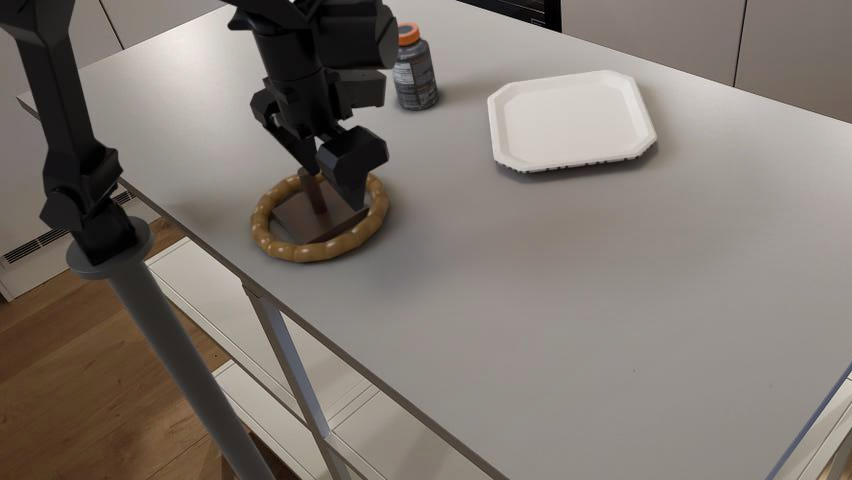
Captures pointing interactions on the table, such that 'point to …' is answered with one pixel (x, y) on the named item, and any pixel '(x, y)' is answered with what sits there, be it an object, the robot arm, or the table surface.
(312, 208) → the wooden peg stand
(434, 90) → the pill bottle
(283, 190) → the ring
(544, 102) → the plate
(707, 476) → the table surface
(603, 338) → the table surface
